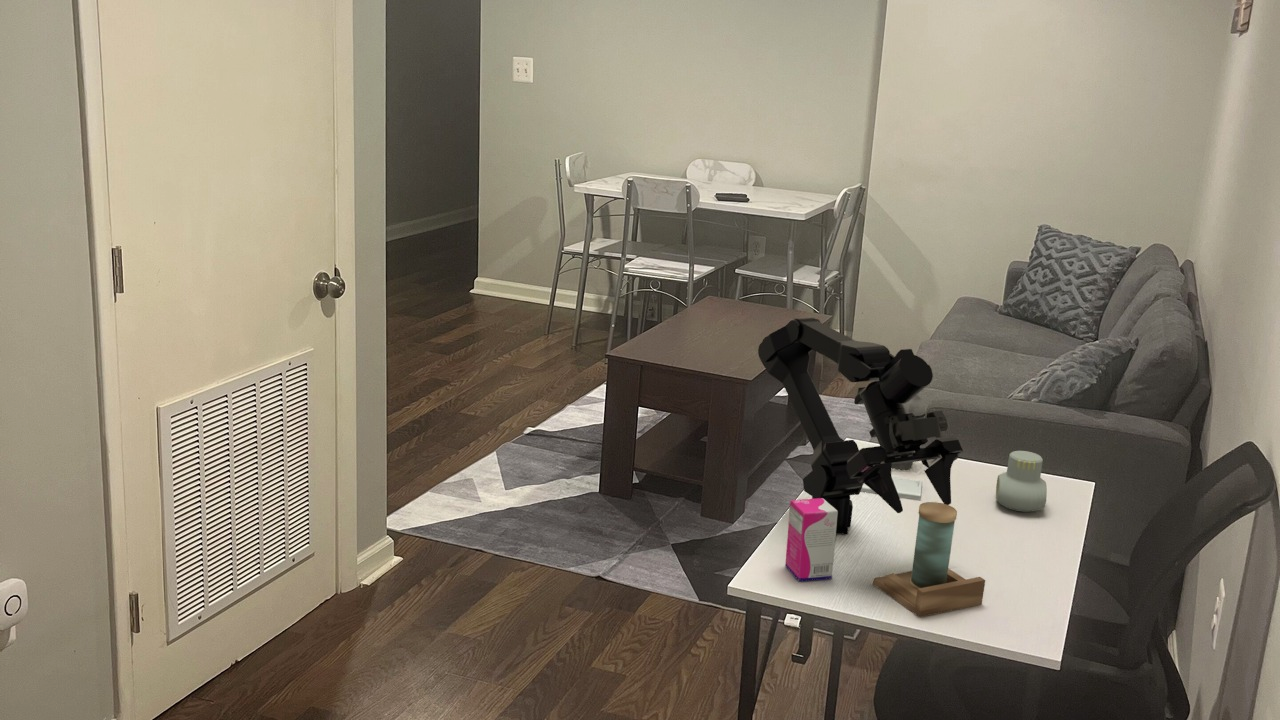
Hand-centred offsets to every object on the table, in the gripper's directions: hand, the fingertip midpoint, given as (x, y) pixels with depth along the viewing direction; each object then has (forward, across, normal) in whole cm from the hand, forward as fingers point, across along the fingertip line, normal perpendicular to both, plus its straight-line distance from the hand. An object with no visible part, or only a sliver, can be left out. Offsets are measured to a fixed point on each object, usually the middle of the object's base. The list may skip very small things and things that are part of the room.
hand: (924, 508), depth 168 cm
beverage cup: (-21, +32, +41) cm, 56 cm away
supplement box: (+3, -13, +16) cm, 21 cm away
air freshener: (-4, +40, +23) cm, 47 cm away
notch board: (+11, 0, +7) cm, 13 cm away
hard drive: (-15, +22, +35) cm, 44 cm away
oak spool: (+11, 0, +6) cm, 12 cm away
